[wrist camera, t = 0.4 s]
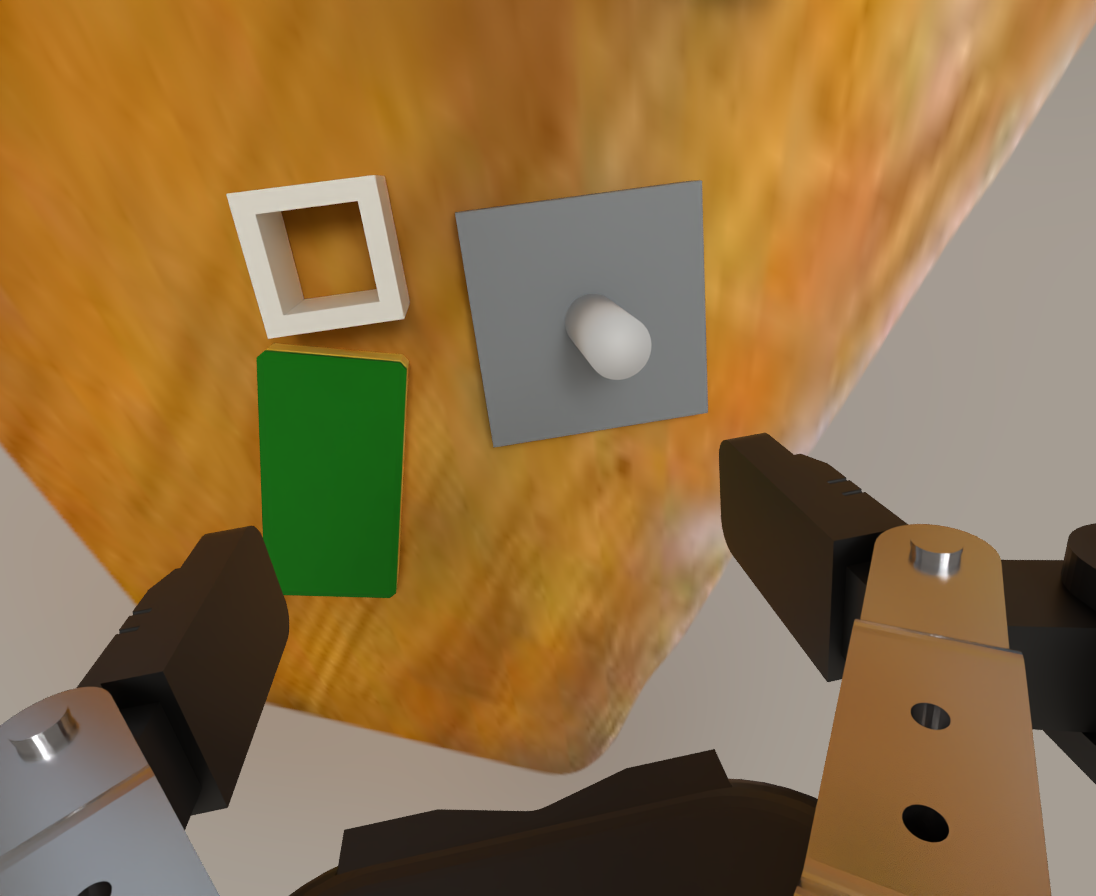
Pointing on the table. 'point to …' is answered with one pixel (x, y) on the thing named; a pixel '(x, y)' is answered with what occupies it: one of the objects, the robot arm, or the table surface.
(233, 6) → the table surface
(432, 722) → the table surface
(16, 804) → the robot arm
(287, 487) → the dish sponge
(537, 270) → the post stand
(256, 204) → the ring
